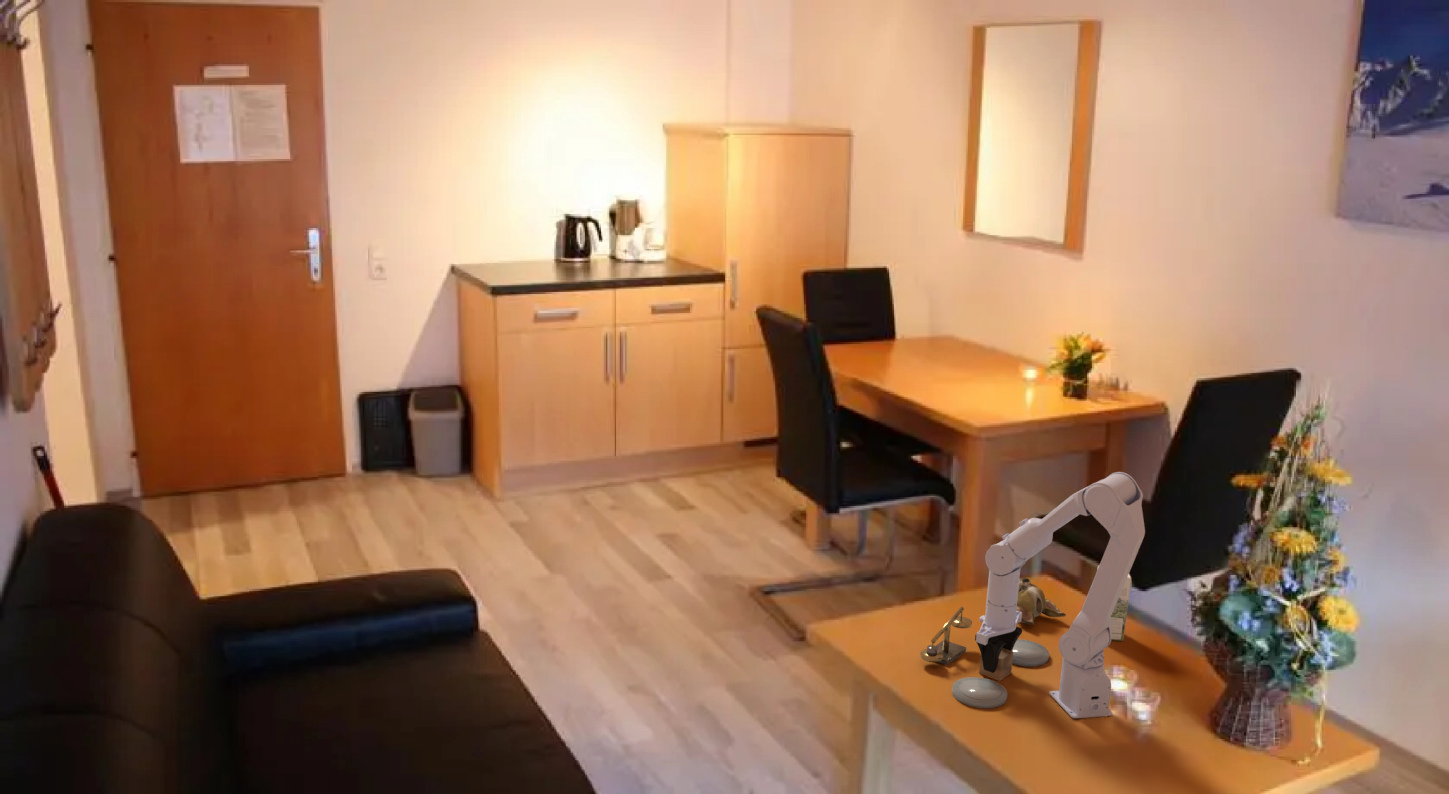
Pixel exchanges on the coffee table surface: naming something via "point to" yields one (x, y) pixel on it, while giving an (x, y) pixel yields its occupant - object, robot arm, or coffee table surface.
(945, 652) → the bronze balance
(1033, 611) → the ceramic sculpture
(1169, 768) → the coffee table surface
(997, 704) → the left dish
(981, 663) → the walnut block
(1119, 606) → the syrup box
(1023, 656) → the right dish
